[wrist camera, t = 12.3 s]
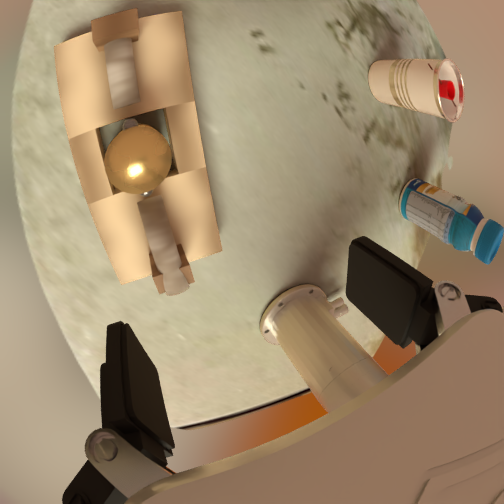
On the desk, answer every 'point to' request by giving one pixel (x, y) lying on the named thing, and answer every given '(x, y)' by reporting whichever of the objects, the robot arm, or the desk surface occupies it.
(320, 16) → the desk surface
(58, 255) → the desk surface
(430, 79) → the striped cup with float
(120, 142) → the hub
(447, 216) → the blue supplement bottle
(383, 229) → the desk surface
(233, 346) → the desk surface
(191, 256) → the shaft jig
